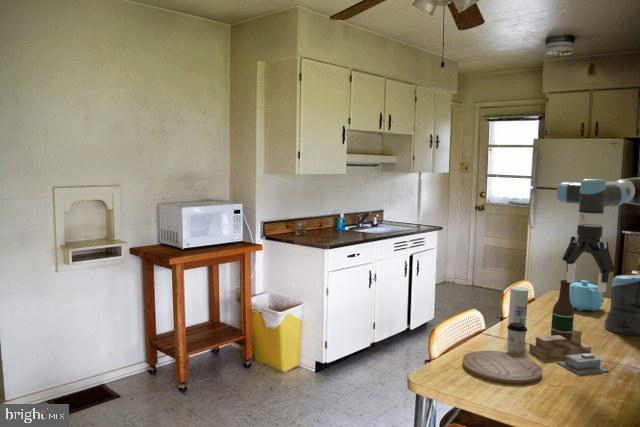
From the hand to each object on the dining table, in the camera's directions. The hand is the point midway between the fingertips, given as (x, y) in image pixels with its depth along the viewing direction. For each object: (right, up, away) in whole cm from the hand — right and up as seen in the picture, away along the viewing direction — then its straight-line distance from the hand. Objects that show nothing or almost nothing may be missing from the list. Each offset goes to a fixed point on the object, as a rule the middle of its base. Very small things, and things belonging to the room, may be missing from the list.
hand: (585, 286), depth 175 cm
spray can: (-13, -24, +27) cm, 39 cm away
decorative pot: (+36, -21, +73) cm, 84 cm away
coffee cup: (-19, -26, +13) cm, 34 cm away
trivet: (-30, -27, -3) cm, 41 cm away
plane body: (-3, -26, +12) cm, 29 cm away
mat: (-2, -27, -1) cm, 27 cm away
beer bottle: (+4, -25, +25) cm, 36 cm away
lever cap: (-2, -27, -1) cm, 27 cm away
